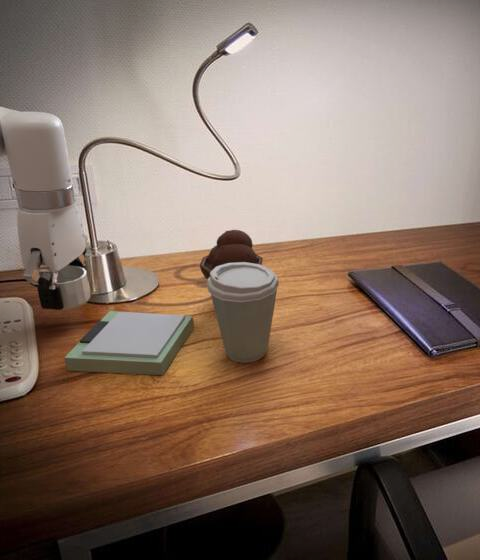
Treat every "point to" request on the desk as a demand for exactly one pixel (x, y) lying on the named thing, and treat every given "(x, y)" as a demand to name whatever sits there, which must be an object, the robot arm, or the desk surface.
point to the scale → (131, 343)
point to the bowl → (72, 286)
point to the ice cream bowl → (230, 251)
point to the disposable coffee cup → (243, 307)
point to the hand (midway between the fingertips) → (66, 296)
